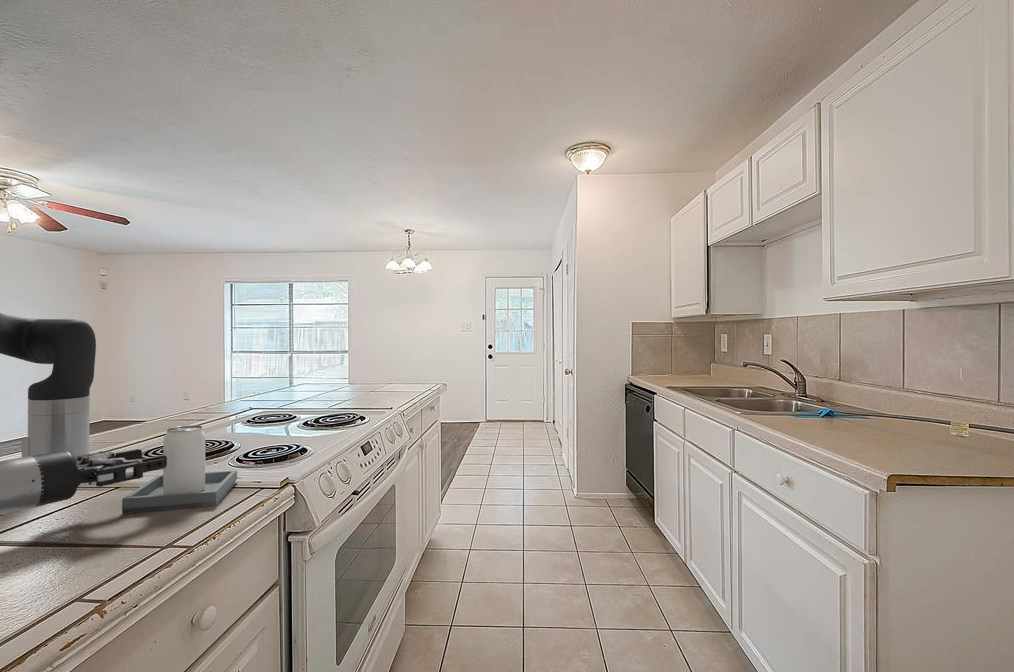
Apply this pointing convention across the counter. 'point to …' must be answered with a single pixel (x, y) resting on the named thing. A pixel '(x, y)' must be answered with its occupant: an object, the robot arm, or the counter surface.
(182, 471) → the can
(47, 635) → the counter surface
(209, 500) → the bin
